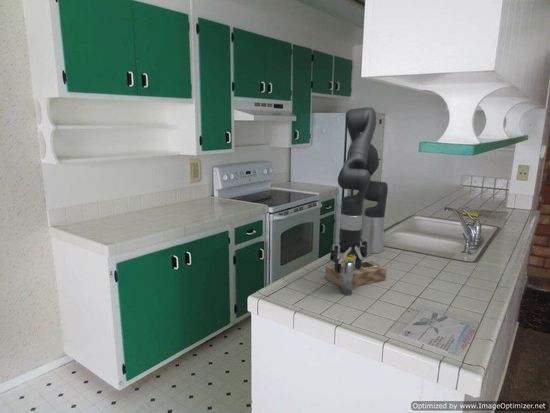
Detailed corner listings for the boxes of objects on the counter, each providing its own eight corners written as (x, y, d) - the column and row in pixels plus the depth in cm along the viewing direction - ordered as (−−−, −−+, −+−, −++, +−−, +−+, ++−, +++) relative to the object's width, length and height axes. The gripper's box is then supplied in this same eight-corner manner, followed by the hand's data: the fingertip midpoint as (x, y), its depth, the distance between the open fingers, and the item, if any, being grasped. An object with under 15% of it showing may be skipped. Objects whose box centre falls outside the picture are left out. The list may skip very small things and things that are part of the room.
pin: (347, 290, 144) (349, 259, 141) (353, 294, 141) (356, 262, 138) (339, 292, 142) (341, 260, 140) (345, 296, 139) (347, 264, 137)
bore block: (365, 269, 164) (366, 257, 163) (385, 280, 154) (386, 267, 153) (325, 277, 155) (325, 265, 154) (343, 289, 145) (344, 275, 144)
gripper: (360, 222, 143) (357, 264, 146) (327, 225, 136) (325, 270, 140) (374, 227, 136) (370, 271, 140) (340, 231, 130) (337, 277, 133)
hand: (347, 270), depth 140 cm, fingers open, 8 cm apart
